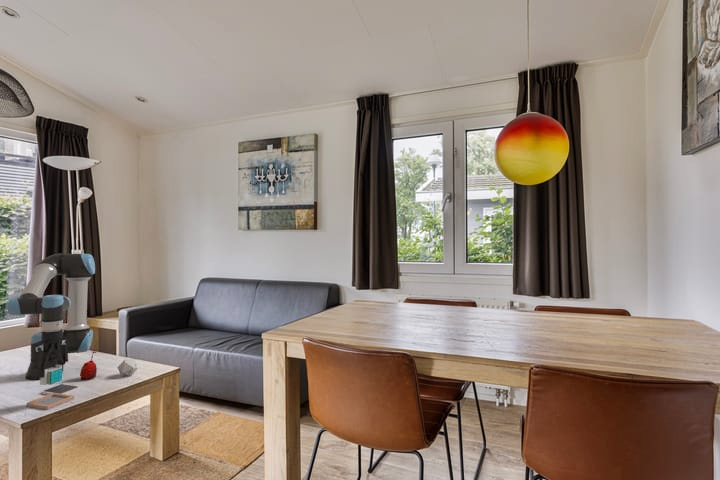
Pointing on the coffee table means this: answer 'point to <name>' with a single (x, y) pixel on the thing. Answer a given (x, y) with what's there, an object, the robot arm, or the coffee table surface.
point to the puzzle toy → (54, 375)
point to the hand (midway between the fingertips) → (51, 381)
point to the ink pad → (61, 389)
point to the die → (127, 367)
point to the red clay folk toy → (88, 370)
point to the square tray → (50, 401)
